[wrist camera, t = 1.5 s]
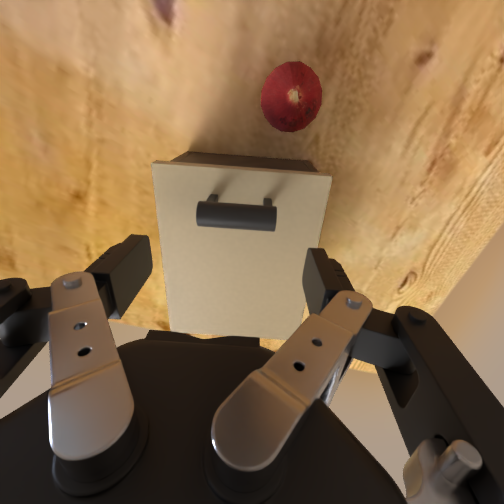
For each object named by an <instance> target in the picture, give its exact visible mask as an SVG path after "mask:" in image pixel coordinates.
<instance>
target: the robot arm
mask: <svg viewBox="0 0 504 504" xmlns="http://www.w3.org/2000/svg"><path fill="white" fill-rule="evenodd" d="M152 267H153V263H152V255H151V248H150V240H149V237H148V236H147V235H134V234H131V235H130V236H129V237H128V238H126V239H125V240H124V241H123V242H122V243H119V244H117V245H115V246H112V247H110V248H109V249H108V250H107V251H106V252H105V253H104V254H102V255H101V256H100V257H99V259H97V260H96V261H95V262H93V263H92V264H91V265H90V266H89V267H88V268H87V269H86V270H85V271H83V272H73V273H68V274H65V275H63V276H60V277H59V278H57V279H55V280H54V281H53V282H52V283H51V287H42V288H34V289H30V288H29V286H28V284H27V281H26V280H25V279H22V278H8V279H3V280H0V398H1V397H2V396H3V394H4V393H5V392H6V391H7V390H8V388H9V387H10V386H11V385H12V384H13V383H14V381H15V380H16V379H17V378H18V377H19V375H20V374H21V373H22V372H23V371H24V369H25V368H26V367H27V366H28V365H29V364H30V362H31V361H32V360H33V359H34V357H36V355H37V354H38V353H39V352H40V351H41V349H42V348H43V347H44V346H45V345H46V343H47V342H48V341H49V350H50V370H51V388H50V389H49V390H47V391H45V392H44V393H42V394H41V395H39V396H38V397H36V398H34V399H33V400H31V401H29V402H28V403H26V404H24V405H23V406H21V407H20V408H18V409H17V410H15V411H13V412H12V413H10V414H8V415H7V416H5V417H3V418H2V419H0V504H504V407H503V406H502V405H501V404H500V402H499V401H498V400H497V398H496V397H495V396H494V395H493V393H492V392H491V391H490V389H489V388H488V387H487V386H486V384H485V383H484V382H483V380H482V379H481V378H480V377H479V375H478V374H477V373H476V371H475V370H474V369H473V367H472V366H471V365H470V364H469V362H468V361H467V360H466V359H465V357H464V356H463V355H462V353H461V352H460V351H459V349H458V348H457V347H456V345H455V344H454V343H453V342H452V340H451V339H450V338H449V336H448V335H447V334H446V333H445V331H444V330H443V329H442V327H441V326H440V325H439V324H438V322H437V321H436V320H435V319H434V318H433V317H432V316H431V315H430V314H428V313H427V312H425V311H423V310H421V309H418V308H415V307H411V306H400V307H398V308H397V310H396V312H395V314H391V313H387V312H384V311H380V310H377V309H374V308H373V305H372V303H371V301H370V300H369V299H368V298H367V297H366V296H364V295H362V294H360V293H358V292H355V290H354V288H353V286H352V284H351V283H350V281H349V279H348V277H347V275H346V273H345V272H344V270H343V268H342V266H341V264H339V263H338V262H337V261H336V260H335V259H329V258H328V256H327V254H326V252H325V250H324V249H323V248H308V250H307V254H306V259H305V264H304V269H303V275H302V286H303V290H304V294H305V298H306V302H307V306H308V310H309V314H310V315H309V317H308V318H307V319H306V320H305V321H304V322H303V323H302V324H301V325H300V326H299V327H298V329H297V330H296V331H295V332H294V333H293V334H292V335H291V336H290V337H289V338H288V340H287V341H286V342H285V343H284V344H283V345H282V346H281V347H280V348H279V349H278V350H277V352H276V353H275V352H273V351H271V350H269V349H267V348H264V347H261V346H260V337H246V336H226V337H218V338H211V339H200V338H196V337H193V336H190V335H186V334H183V333H179V332H173V331H159V330H149V332H148V334H147V336H146V338H145V339H139V340H135V341H132V342H129V343H126V344H124V345H121V346H119V347H117V348H116V345H115V342H114V338H113V335H112V332H111V329H110V326H109V323H108V319H121V317H122V316H123V314H124V313H125V311H126V310H127V308H128V307H129V306H130V304H131V303H132V301H133V300H134V298H135V297H136V295H137V294H138V292H139V291H140V289H141V288H142V286H143V285H144V283H145V282H146V280H147V279H148V277H149V276H150V274H151V272H152ZM354 358H355V359H358V360H361V361H364V362H367V363H370V364H373V365H375V368H376V370H377V373H378V376H379V378H380V381H381V383H382V386H383V388H384V391H385V393H386V396H387V399H388V401H389V404H390V406H391V409H392V412H393V414H394V417H395V419H396V422H397V424H398V427H399V429H400V432H401V434H402V437H403V439H404V442H405V445H406V447H407V450H408V452H409V455H410V458H409V460H408V461H407V462H406V464H405V466H404V469H403V479H404V483H405V488H406V498H405V497H404V496H403V494H402V492H401V490H400V489H399V487H398V486H397V484H396V483H395V481H394V480H393V479H392V477H391V476H390V475H389V474H388V472H387V471H386V470H385V469H384V468H383V467H382V466H381V464H380V463H379V462H378V461H377V460H376V459H375V458H374V457H373V456H372V455H371V453H370V452H369V451H368V450H367V449H366V448H365V447H364V446H363V445H362V444H361V443H360V441H359V440H358V439H357V438H356V437H355V436H354V435H353V434H352V433H351V431H350V430H349V429H348V428H347V427H346V426H345V425H344V424H343V423H342V422H341V420H340V419H339V418H338V417H337V416H336V415H335V414H334V413H333V412H332V411H331V409H330V408H329V405H330V403H331V401H332V398H333V396H334V394H335V392H336V390H337V388H338V386H339V384H340V382H341V381H342V379H343V377H344V375H345V373H346V372H347V370H348V368H349V366H350V364H351V362H352V361H353V359H354Z"/></svg>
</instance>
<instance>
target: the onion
mask: <svg viewBox="0 0 504 504" xmlns="http://www.w3.org/2000/svg"><path fill="white" fill-rule="evenodd" d="M321 102H322V88H321V84H320V81H319V77H318V76H317V75H316V74H315V72H314V71H313V70H312V69H311V67H309V66H307V65H305V64H304V63H302V62H300V61H298V62H286V63H284V64H282V65H280V66H278V67H276V68H275V69H274V70H273V71H272V72H271V74H270V75H269V76H268V77H267V78H266V81H265V83H264V86H263V88H262V91H261V107H262V110H263V113H264V116H265V118H266V119H267V121H268V122H269V123H270V124H271V125H272V126H273V127H275V128H276V129H278V130H280V131H282V132H295V131H298V130H301V129H304V128H305V127H306V126H307V125H308V124H309V123H311V122H312V121H313V120H314V119H315V118H316V115H317V113H318V111H319V109H320V106H321Z"/></svg>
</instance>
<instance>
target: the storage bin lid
mask: <svg viewBox="0 0 504 504" xmlns="http://www.w3.org/2000/svg"><path fill="white" fill-rule="evenodd" d="M151 167H152V176H153V185H154V193H155V202H156V210H157V219H158V227H159V236H160V245H161V253H162V262H163V270H164V279H165V287H166V296H167V305H168V313H169V322H170V330H171V331H173V332H179V333H192V334H207V335H221V336H246V337H260V338H265V339H279V340H288V338H289V337H290V336H291V335H292V334H293V333H294V332H295V331H296V330H297V329H298V327H299V326H300V325H301V323H302V318H303V313H304V309H305V304H306V298H305V294H304V290H303V286H302V275H303V269H304V264H305V259H306V254H307V250H308V248H318V243H319V239H320V234H321V229H322V225H323V220H324V215H325V211H326V206H327V201H328V197H329V192H330V187H331V183H332V178H333V176H332V175H331V174H329V173H318V172H305V171H292V170H278V169H265V168H251V167H238V166H225V165H211V164H198V163H185V162H171V161H158V160H156V161H154V162H152V163H151Z"/></svg>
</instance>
